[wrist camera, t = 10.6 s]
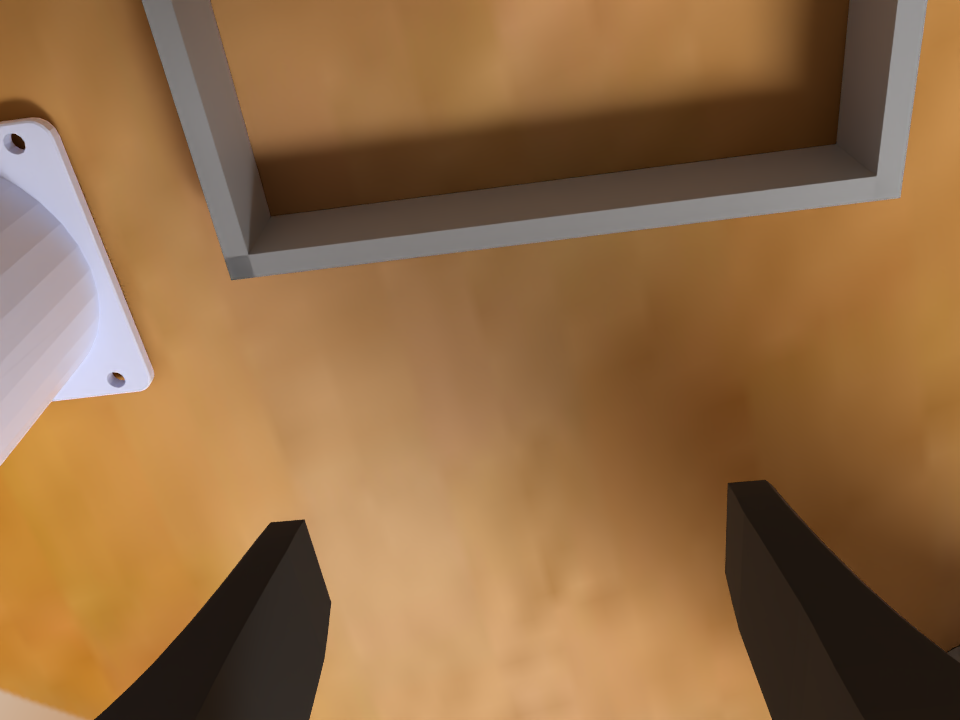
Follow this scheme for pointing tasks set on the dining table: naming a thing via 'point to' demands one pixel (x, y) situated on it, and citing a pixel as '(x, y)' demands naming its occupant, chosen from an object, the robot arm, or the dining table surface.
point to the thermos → (955, 653)
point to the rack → (550, 204)
